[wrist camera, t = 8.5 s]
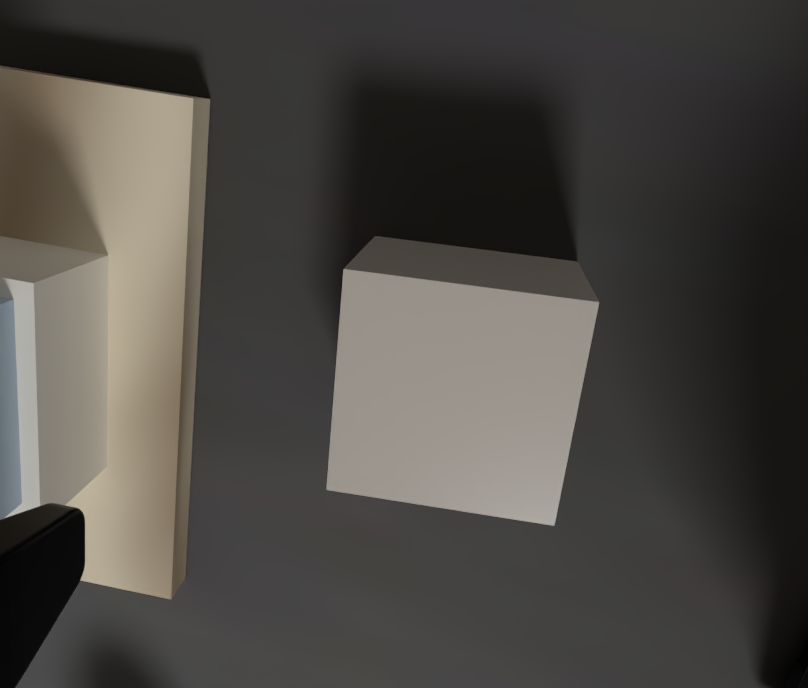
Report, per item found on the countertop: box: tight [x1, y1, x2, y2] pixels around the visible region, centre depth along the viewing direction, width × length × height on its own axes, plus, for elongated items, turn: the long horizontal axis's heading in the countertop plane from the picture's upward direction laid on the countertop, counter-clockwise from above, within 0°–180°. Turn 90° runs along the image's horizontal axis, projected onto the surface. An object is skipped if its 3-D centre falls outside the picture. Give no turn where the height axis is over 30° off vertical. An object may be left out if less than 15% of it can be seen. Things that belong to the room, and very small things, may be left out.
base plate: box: [0, 66, 210, 599], centre depth 19 cm, size 10×14×1 cm
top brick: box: [326, 236, 599, 526], centre depth 16 cm, size 5×5×4 cm
